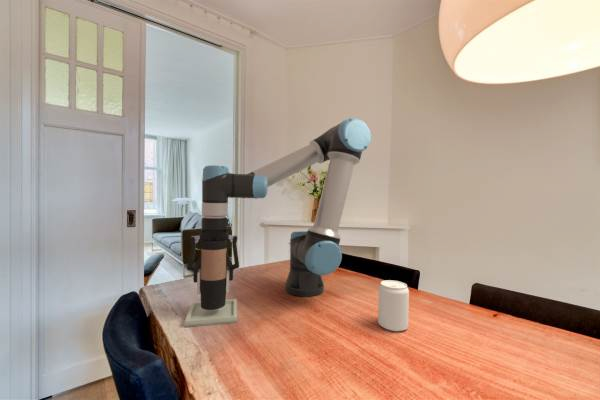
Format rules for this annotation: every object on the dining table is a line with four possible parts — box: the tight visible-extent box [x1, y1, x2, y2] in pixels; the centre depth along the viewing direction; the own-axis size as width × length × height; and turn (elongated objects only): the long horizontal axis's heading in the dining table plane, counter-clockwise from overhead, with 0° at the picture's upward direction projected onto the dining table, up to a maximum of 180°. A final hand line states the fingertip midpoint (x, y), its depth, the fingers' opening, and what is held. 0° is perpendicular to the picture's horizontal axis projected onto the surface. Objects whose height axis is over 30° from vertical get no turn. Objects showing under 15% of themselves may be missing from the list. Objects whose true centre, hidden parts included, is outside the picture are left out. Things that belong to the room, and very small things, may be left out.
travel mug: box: [200, 239, 228, 310], centre depth 83 cm, size 8×8×20 cm
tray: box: [184, 298, 238, 328], centre depth 83 cm, size 14×14×2 cm
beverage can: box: [377, 279, 410, 332], centre depth 77 cm, size 8×8×12 cm
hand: (213, 291), depth 83 cm, fingers closed on travel mug, 8 cm apart
